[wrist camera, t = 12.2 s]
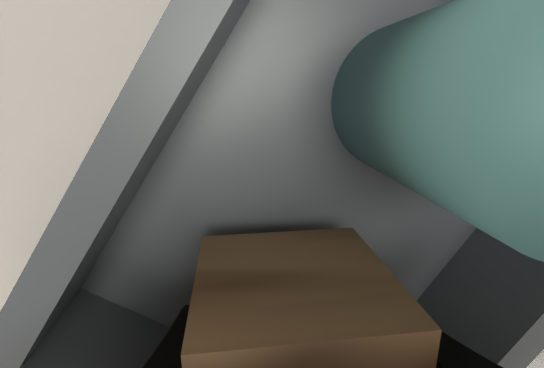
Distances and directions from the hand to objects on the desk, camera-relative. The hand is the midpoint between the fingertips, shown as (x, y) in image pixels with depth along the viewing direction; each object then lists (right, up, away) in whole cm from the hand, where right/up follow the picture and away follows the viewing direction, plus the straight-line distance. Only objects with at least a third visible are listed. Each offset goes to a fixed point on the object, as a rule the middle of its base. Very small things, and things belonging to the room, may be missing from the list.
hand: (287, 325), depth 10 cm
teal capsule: (+4, +7, +1) cm, 8 cm away
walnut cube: (0, 0, +1) cm, 1 cm away
